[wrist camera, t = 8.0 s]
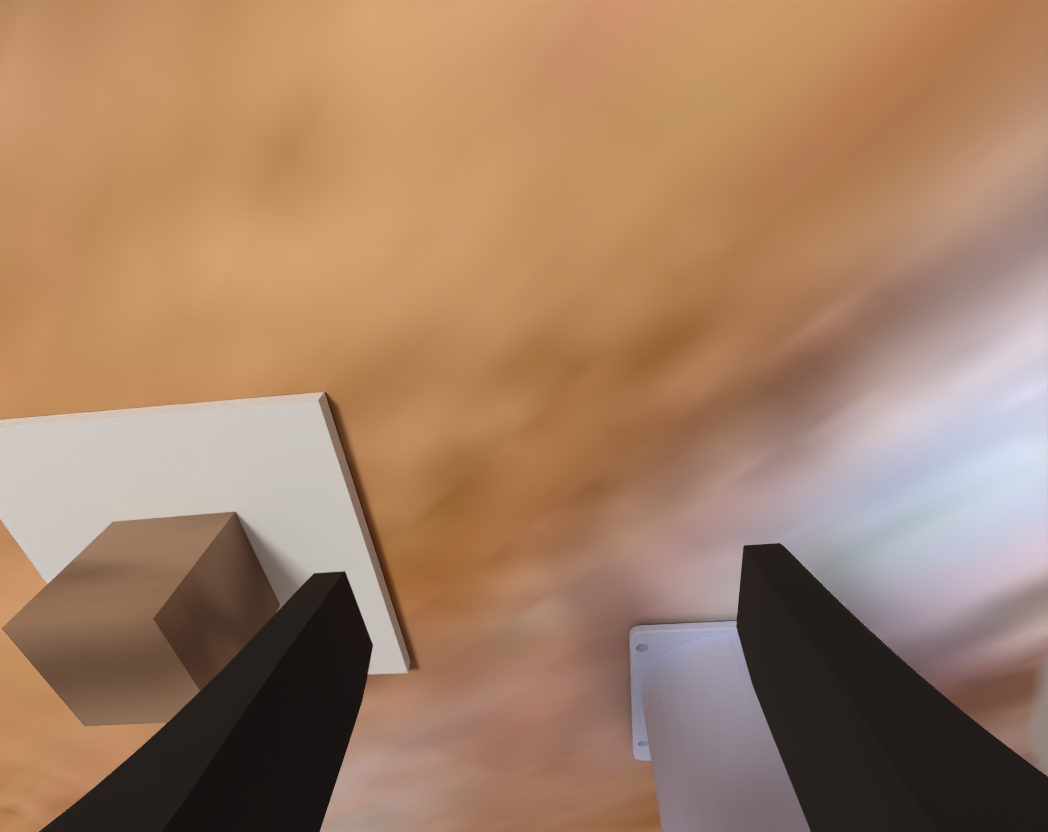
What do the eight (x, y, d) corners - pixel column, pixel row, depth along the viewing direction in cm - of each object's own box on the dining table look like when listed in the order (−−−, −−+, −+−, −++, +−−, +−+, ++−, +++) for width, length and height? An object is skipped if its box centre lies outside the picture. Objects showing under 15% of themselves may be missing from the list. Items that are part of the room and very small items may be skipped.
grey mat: (410, 661, 26) (407, 672, 25) (128, 672, 27) (120, 684, 26) (324, 391, 19) (318, 400, 18) (-47, 423, 20) (-63, 432, 20)
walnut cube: (280, 605, 23) (218, 719, 19) (169, 612, 24) (84, 725, 19) (235, 511, 21) (152, 618, 17) (112, 521, 21) (1, 628, 17)
